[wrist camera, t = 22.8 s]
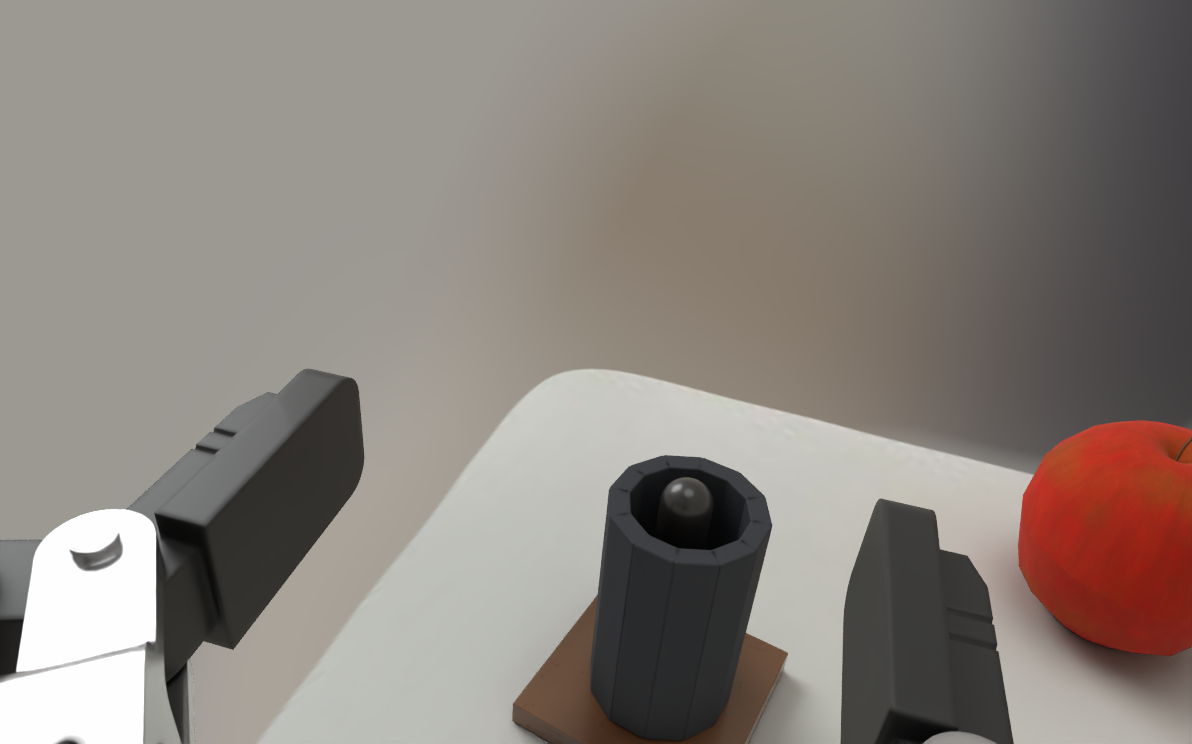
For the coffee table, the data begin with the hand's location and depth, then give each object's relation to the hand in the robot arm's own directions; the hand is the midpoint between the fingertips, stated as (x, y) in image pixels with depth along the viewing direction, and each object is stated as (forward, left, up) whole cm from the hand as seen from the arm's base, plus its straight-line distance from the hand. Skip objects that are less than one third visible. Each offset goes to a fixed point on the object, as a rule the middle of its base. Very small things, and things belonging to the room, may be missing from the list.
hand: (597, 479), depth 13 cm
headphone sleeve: (-3, +15, -23) cm, 27 cm away
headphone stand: (-3, +15, -24) cm, 28 cm away
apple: (+14, +32, -24) cm, 42 cm away
